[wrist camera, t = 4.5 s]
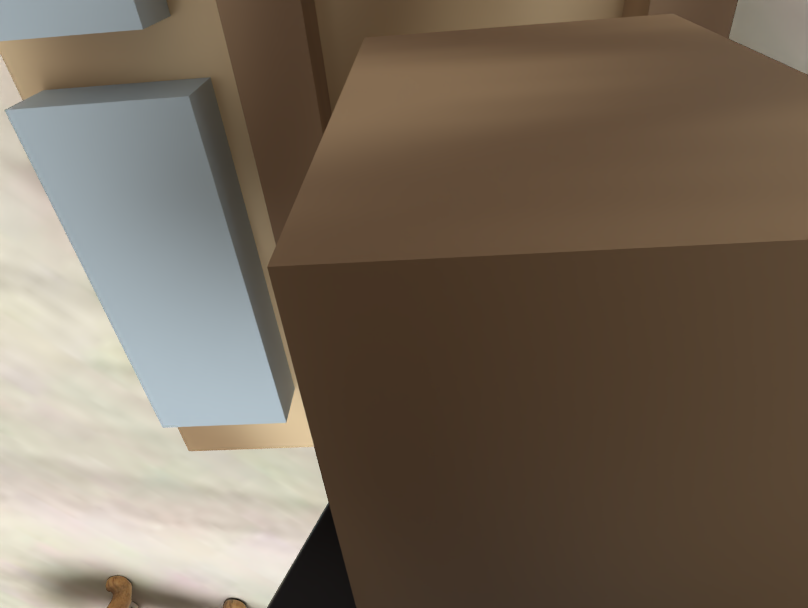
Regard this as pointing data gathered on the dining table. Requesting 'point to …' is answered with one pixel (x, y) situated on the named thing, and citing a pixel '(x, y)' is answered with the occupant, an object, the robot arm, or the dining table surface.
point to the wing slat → (164, 243)
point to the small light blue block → (76, 17)
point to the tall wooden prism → (559, 318)
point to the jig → (285, 96)
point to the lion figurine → (123, 590)
